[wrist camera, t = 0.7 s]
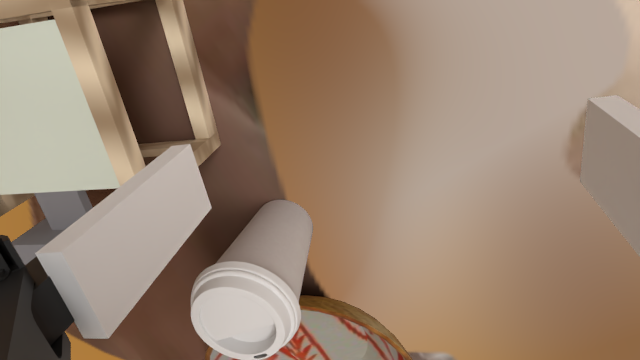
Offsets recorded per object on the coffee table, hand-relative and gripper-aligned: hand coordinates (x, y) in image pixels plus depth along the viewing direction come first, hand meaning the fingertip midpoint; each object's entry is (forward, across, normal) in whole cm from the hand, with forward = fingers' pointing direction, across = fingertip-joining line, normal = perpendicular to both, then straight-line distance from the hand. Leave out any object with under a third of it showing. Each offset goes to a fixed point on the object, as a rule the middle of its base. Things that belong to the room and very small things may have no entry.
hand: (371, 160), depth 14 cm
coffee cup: (+25, -14, -18) cm, 34 cm away
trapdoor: (+14, -26, -3) cm, 30 cm away
